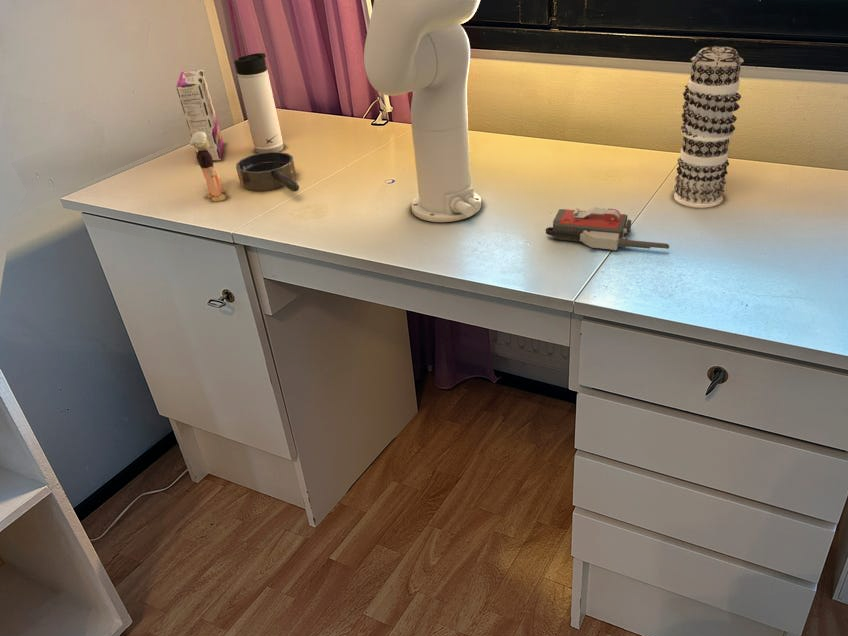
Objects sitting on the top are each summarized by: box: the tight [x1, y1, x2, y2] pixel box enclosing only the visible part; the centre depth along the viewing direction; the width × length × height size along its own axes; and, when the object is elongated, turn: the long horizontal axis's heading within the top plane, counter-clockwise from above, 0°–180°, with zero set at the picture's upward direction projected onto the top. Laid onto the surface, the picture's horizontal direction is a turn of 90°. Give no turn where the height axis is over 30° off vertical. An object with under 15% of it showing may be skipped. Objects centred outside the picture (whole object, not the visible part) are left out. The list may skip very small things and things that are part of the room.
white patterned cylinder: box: [673, 45, 744, 209], centre depth 123 cm, size 9×9×25 cm
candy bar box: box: [175, 69, 224, 162], centre depth 156 cm, size 11×5×16 cm, turn 13°
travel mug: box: [234, 52, 285, 154], centre depth 156 cm, size 6×7×20 cm
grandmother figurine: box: [189, 131, 227, 202], centre depth 138 cm, size 8×4×13 cm, turn 46°
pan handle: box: [273, 170, 300, 193], centre depth 139 cm, size 10×2×2 cm, turn 36°
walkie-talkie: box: [545, 206, 670, 251], centre depth 118 cm, size 9×4×20 cm
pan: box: [235, 151, 297, 192], centre depth 146 cm, size 11×11×4 cm
